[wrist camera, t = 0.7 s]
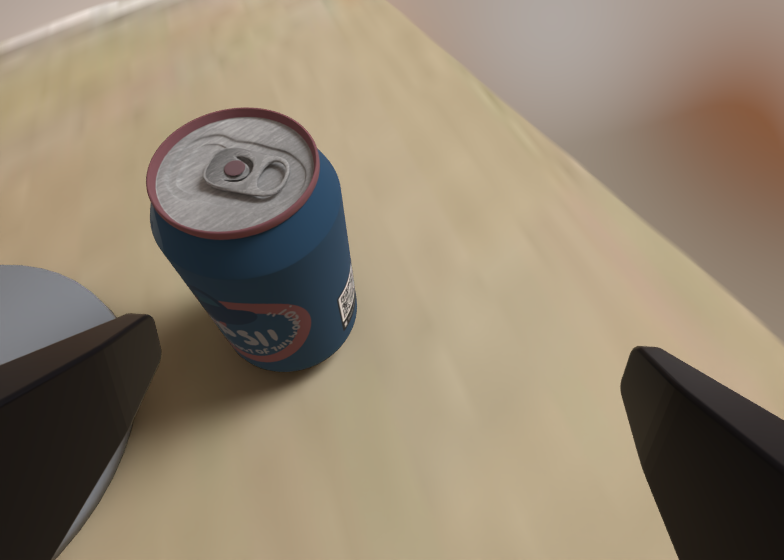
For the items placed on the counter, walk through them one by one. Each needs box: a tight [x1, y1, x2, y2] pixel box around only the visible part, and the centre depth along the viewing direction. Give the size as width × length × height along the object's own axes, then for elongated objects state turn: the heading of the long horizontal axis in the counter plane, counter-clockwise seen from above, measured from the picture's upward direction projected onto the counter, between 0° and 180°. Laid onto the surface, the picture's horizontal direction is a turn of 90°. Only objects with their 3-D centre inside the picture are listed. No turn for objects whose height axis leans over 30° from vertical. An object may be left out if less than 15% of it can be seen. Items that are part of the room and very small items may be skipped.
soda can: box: [146, 108, 357, 372], centre depth 21 cm, size 7×7×12 cm
